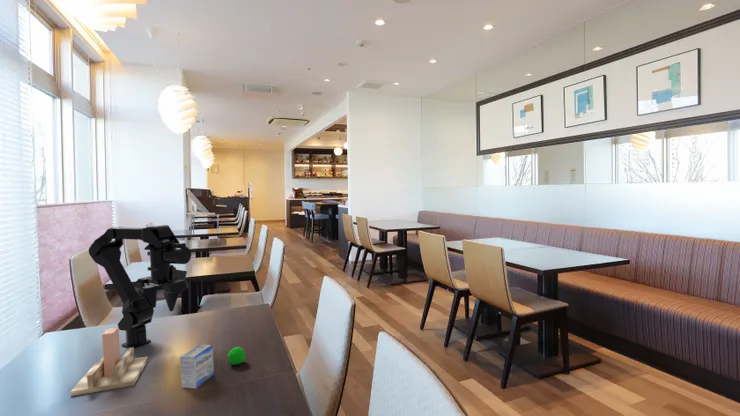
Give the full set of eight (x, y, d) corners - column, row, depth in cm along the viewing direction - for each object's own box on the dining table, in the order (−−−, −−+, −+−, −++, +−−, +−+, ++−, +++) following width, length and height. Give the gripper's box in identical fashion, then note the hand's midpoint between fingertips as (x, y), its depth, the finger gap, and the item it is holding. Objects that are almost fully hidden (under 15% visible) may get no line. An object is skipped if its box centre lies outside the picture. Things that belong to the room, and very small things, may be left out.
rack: (94, 368, 110) (93, 352, 109) (148, 360, 114) (147, 345, 114) (70, 396, 94) (69, 378, 94) (133, 385, 99) (132, 368, 99)
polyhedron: (249, 360, 112) (248, 345, 112) (238, 368, 107) (238, 352, 107) (235, 359, 113) (234, 343, 113) (224, 366, 109) (223, 350, 109)
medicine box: (195, 389, 96) (194, 357, 96) (180, 388, 97) (179, 356, 97) (214, 374, 104) (213, 344, 103) (200, 373, 105) (199, 343, 104)
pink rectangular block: (110, 369, 106) (107, 328, 105) (120, 368, 107) (118, 327, 106) (104, 376, 102) (102, 334, 101) (115, 375, 102) (113, 332, 102)
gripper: (200, 260, 125) (202, 305, 126) (164, 257, 134) (166, 299, 134) (170, 266, 115) (172, 315, 116) (133, 263, 124) (136, 308, 124)
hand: (162, 309), depth 123 cm, fingers open, 9 cm apart
